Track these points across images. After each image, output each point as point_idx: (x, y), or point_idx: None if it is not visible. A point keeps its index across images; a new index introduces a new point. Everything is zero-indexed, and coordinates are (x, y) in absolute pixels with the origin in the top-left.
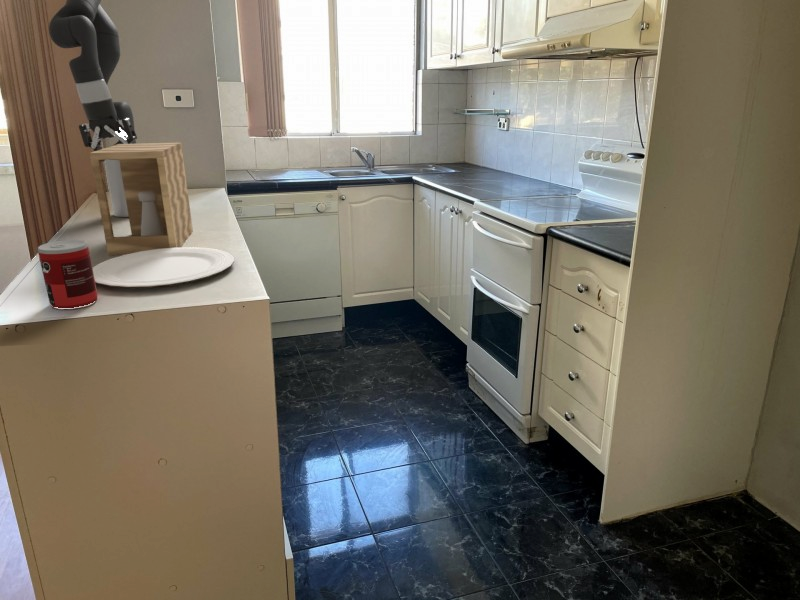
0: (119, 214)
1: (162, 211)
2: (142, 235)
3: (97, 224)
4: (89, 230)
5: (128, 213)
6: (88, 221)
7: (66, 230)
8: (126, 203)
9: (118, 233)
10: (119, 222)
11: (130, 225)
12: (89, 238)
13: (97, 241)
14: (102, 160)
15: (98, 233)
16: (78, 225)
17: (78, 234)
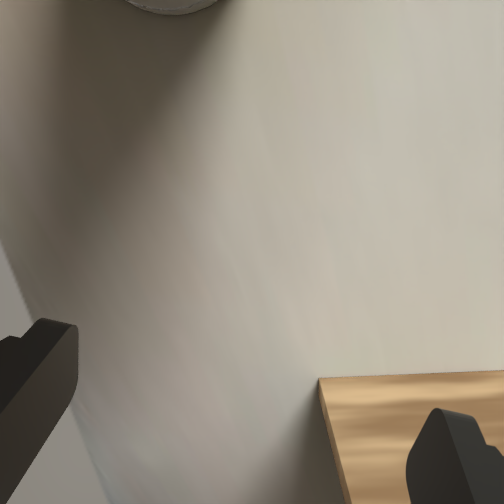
0: (136, 6)
1: None
2: None
3: (95, 179)
4: (118, 296)
5: (335, 457)
6: (9, 93)
7: (16, 282)
8: (343, 495)
9: (259, 361)
10: (186, 148)
11: (325, 420)
12: (180, 417)
13: (226, 456)
14: (71, 385)
15: (180, 351)
16: (11, 187)
17: (107, 356)
